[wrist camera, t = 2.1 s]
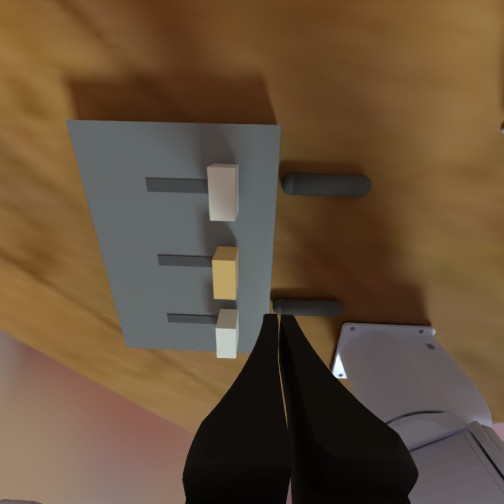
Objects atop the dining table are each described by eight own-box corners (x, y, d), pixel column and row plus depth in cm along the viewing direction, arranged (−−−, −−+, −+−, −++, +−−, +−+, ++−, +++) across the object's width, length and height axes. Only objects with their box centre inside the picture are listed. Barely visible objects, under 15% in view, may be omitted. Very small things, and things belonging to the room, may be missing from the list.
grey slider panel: (278, 127, 18) (281, 124, 15) (265, 332, 26) (266, 354, 23) (95, 123, 18) (64, 119, 15) (140, 326, 27) (125, 348, 24)
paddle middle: (238, 246, 18) (235, 260, 16) (238, 282, 20) (235, 299, 18) (217, 246, 18) (212, 260, 16) (219, 281, 20) (214, 298, 18)
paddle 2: (238, 309, 21) (235, 328, 19) (238, 337, 22) (235, 358, 20) (220, 308, 21) (215, 328, 19) (221, 336, 22) (217, 357, 20)
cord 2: (341, 297, 24) (346, 307, 23) (338, 310, 25) (343, 320, 23) (272, 294, 24) (273, 304, 23) (271, 307, 25) (272, 317, 24)
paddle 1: (238, 164, 16) (234, 167, 14) (238, 211, 17) (235, 221, 15) (214, 163, 16) (207, 167, 14) (216, 210, 17) (209, 220, 15)
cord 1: (368, 174, 19) (377, 177, 18) (364, 194, 20) (372, 198, 18) (281, 172, 19) (283, 174, 18) (280, 192, 20) (281, 196, 19)
